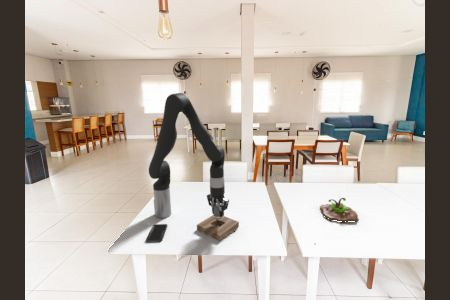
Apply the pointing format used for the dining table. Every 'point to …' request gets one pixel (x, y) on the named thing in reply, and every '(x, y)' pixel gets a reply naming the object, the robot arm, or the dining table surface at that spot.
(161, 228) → the phone
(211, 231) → the end holder
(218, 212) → the connector plug
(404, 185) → the dining table surface
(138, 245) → the dining table surface
